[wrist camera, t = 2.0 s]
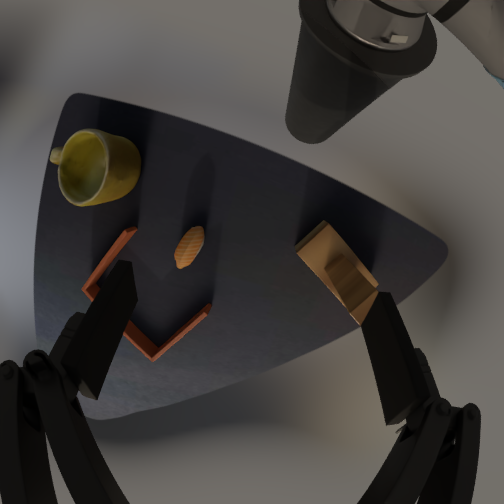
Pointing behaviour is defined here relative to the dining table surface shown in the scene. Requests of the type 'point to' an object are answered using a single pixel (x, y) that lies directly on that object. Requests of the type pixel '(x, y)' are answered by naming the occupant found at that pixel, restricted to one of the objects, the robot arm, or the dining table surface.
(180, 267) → the sushi
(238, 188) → the dining table surface
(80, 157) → the mug
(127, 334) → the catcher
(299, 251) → the brown boxy piece
